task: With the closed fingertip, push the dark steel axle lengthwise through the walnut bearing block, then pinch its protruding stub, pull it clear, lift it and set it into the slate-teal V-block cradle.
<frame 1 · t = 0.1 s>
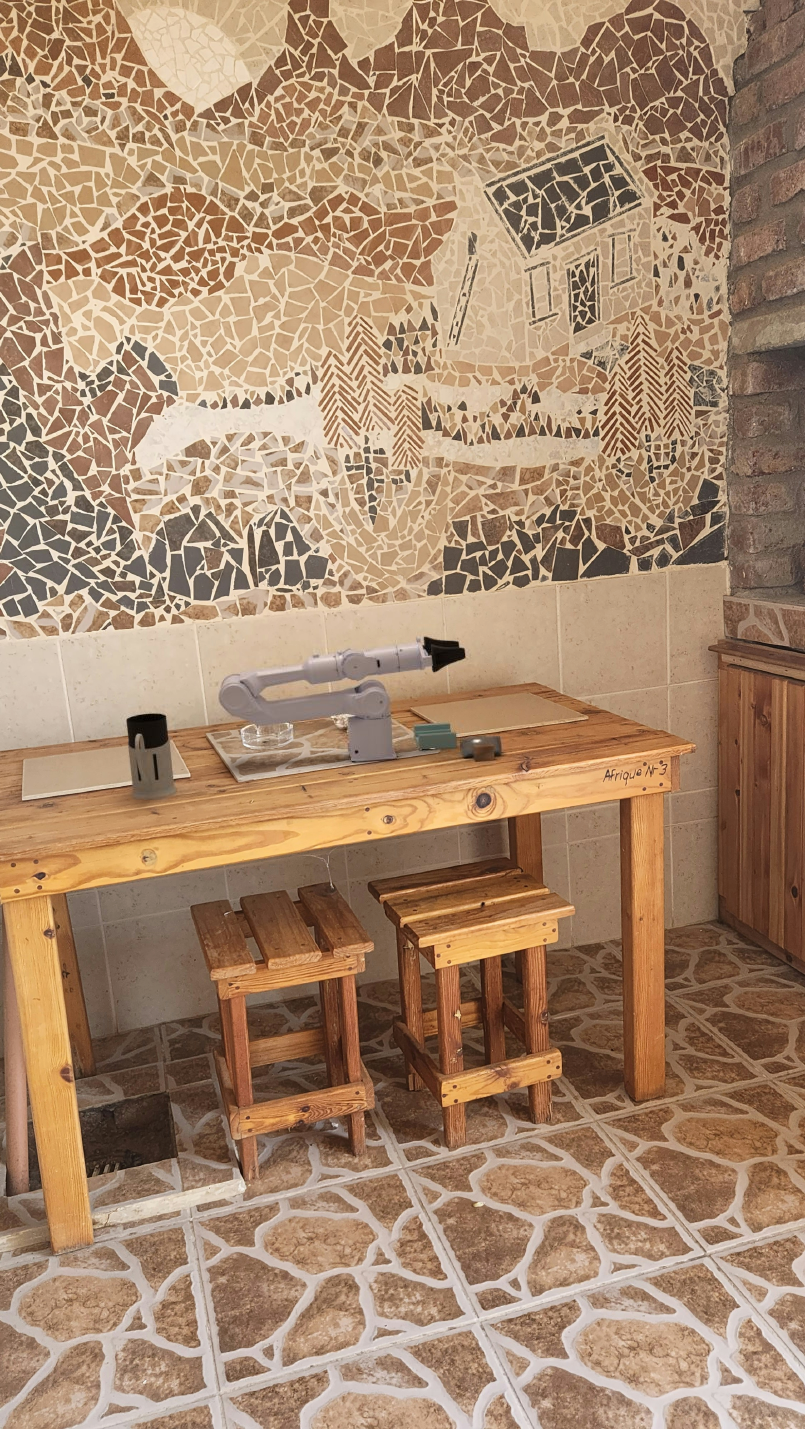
hand: (462, 649, 226), 22 cm above the table, tool horizontal, fingers open, 7 cm apart
glass holder: (151, 797, 208), on the table
axle: (481, 755, 226), on the table
bearing block: (481, 755, 226), on the table
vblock: (435, 743, 237), on the table
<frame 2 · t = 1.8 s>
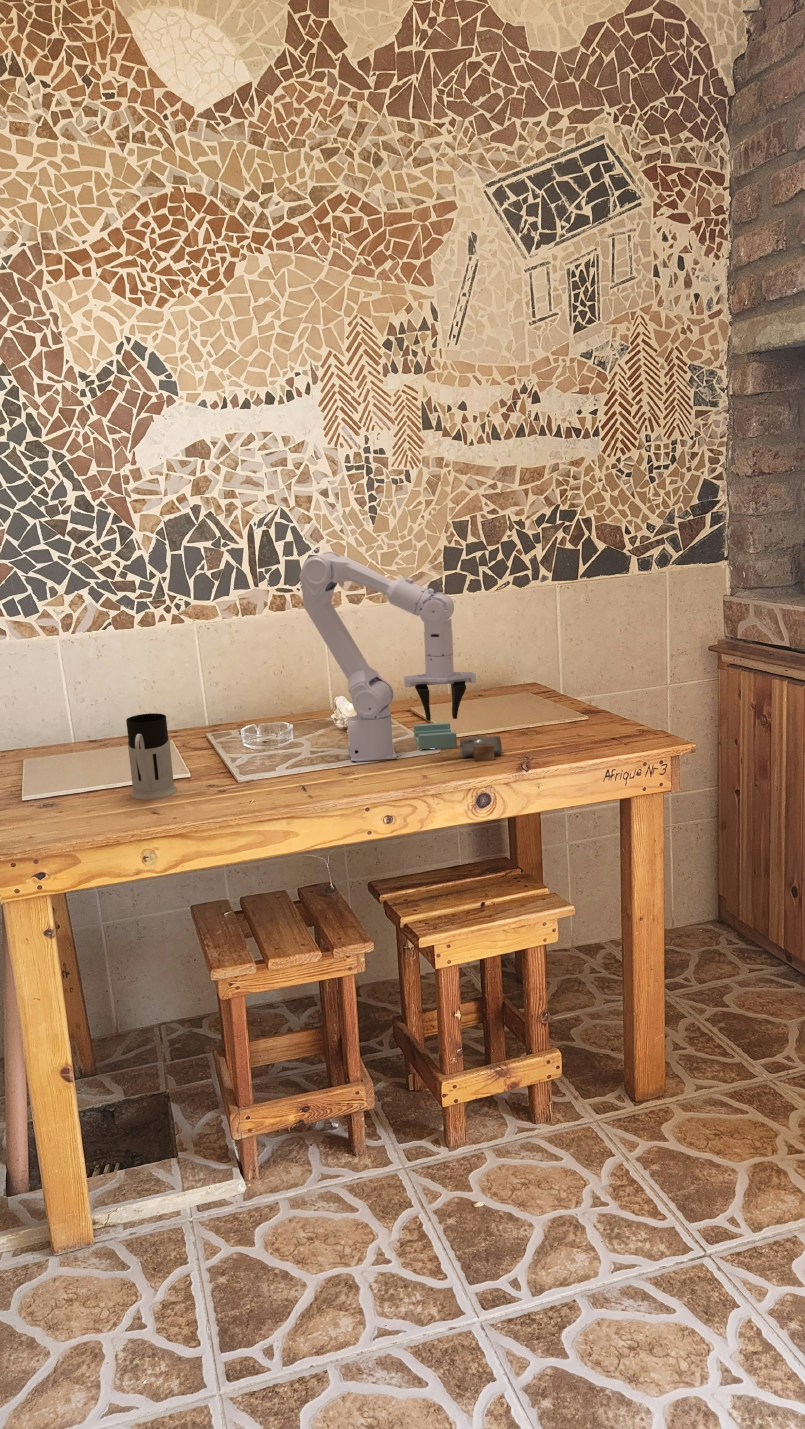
hand: (441, 718, 223), 8 cm above the table, tool pointing down, fingers open, 5 cm apart
nothing on the table moved.
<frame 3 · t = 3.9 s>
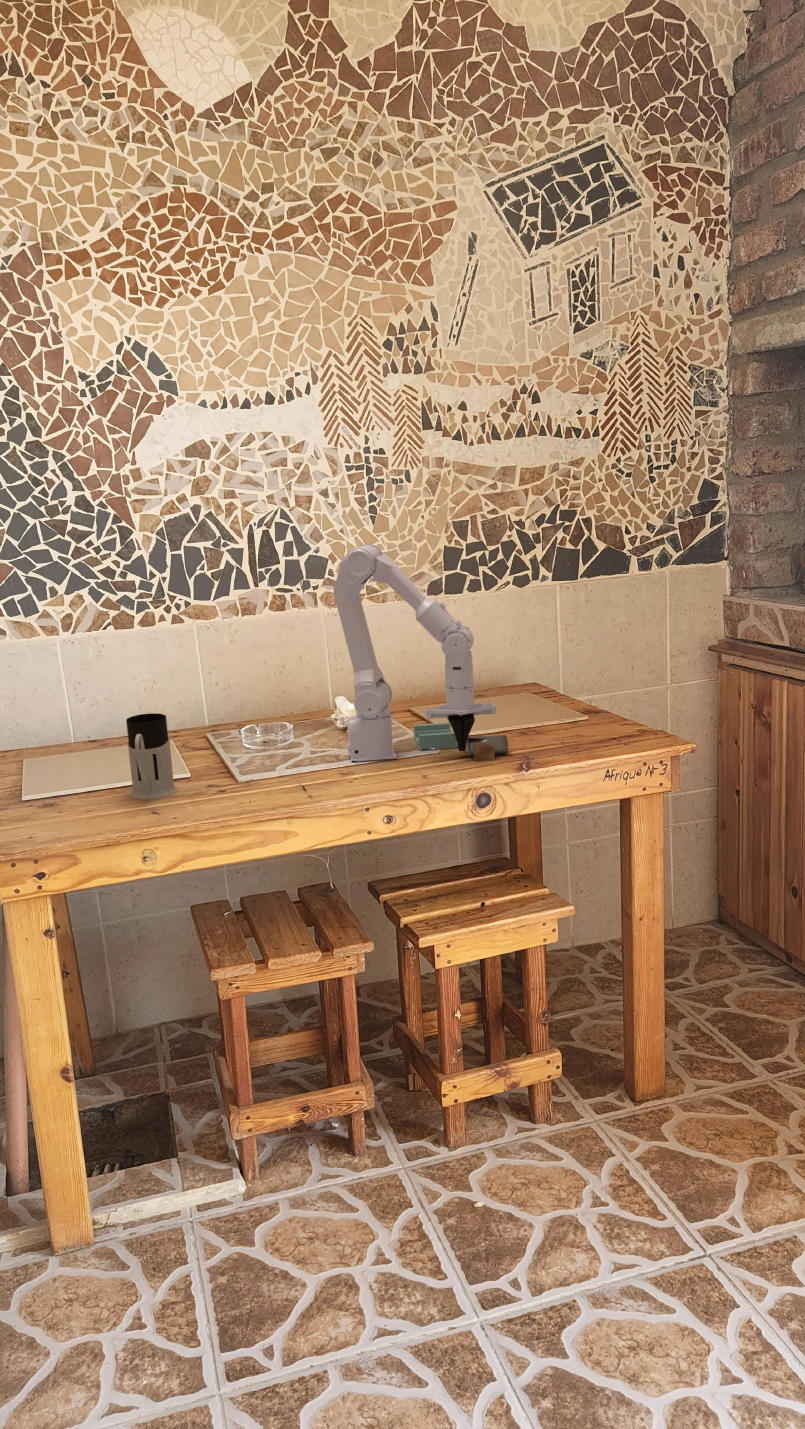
hand: (461, 749, 225), 1 cm above the table, tool pointing down, fingers closed
axle: (487, 754, 226), on the table, tilted 7°, touching gripper
everything else where it was.
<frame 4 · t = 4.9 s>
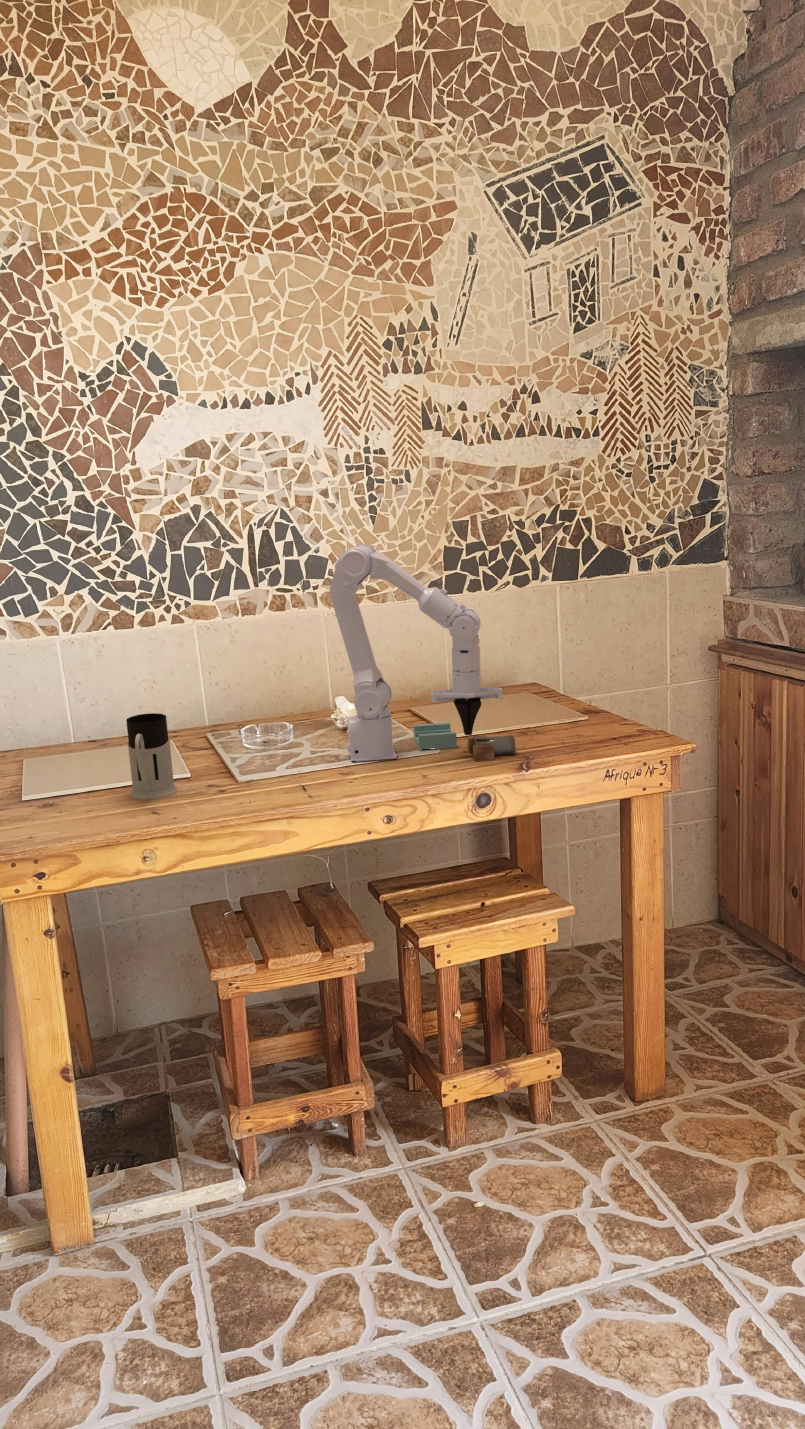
hand: (467, 733, 225), 5 cm above the table, tool pointing down, fingers closed
axle: (494, 754, 226), on the table, tilted 6°
everything else where it was.
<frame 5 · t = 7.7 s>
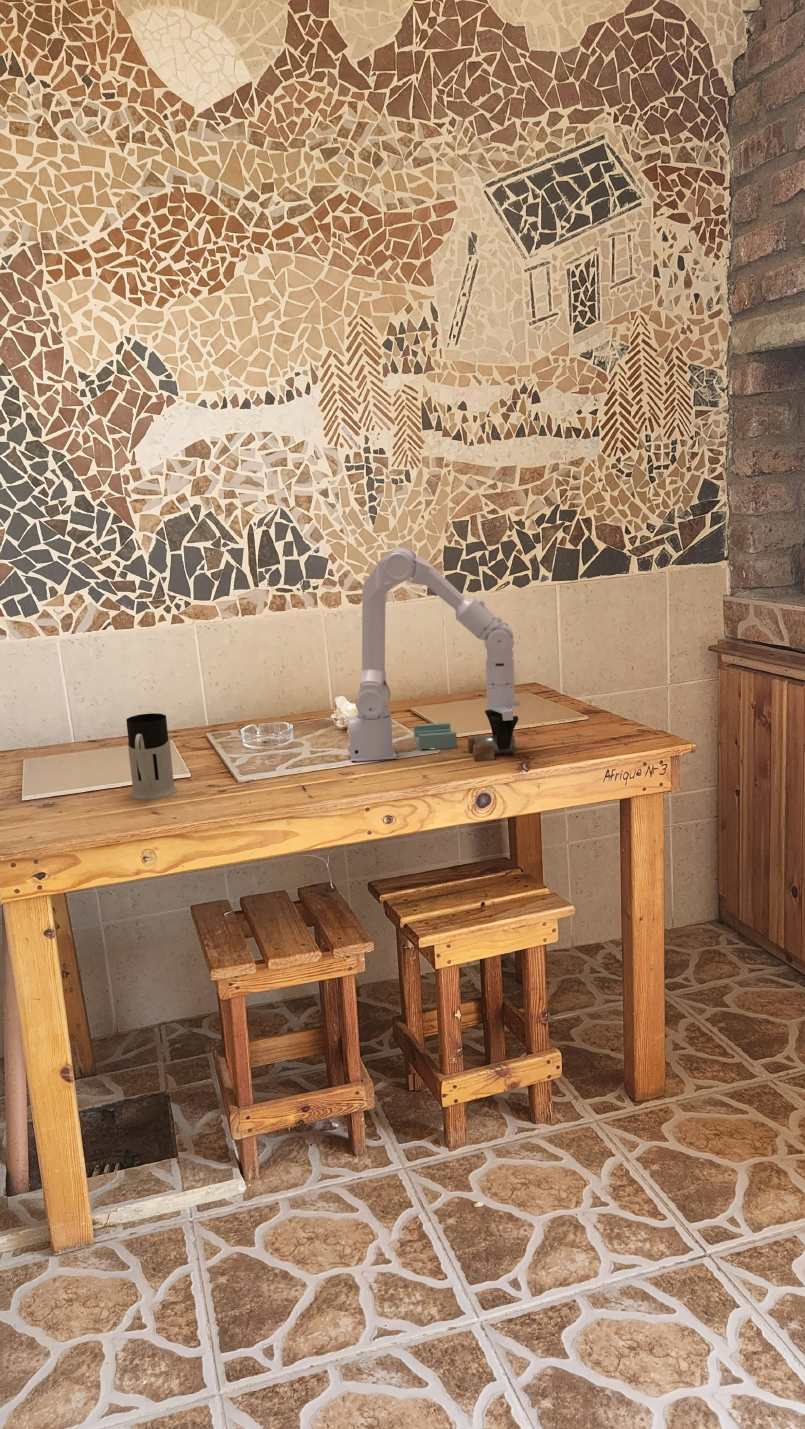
hand: (502, 746, 226), 2 cm above the table, tool pointing down, fingers closed on axle, 4 cm apart
axle: (494, 754, 226), on the table, touching gripper
everything else where it was.
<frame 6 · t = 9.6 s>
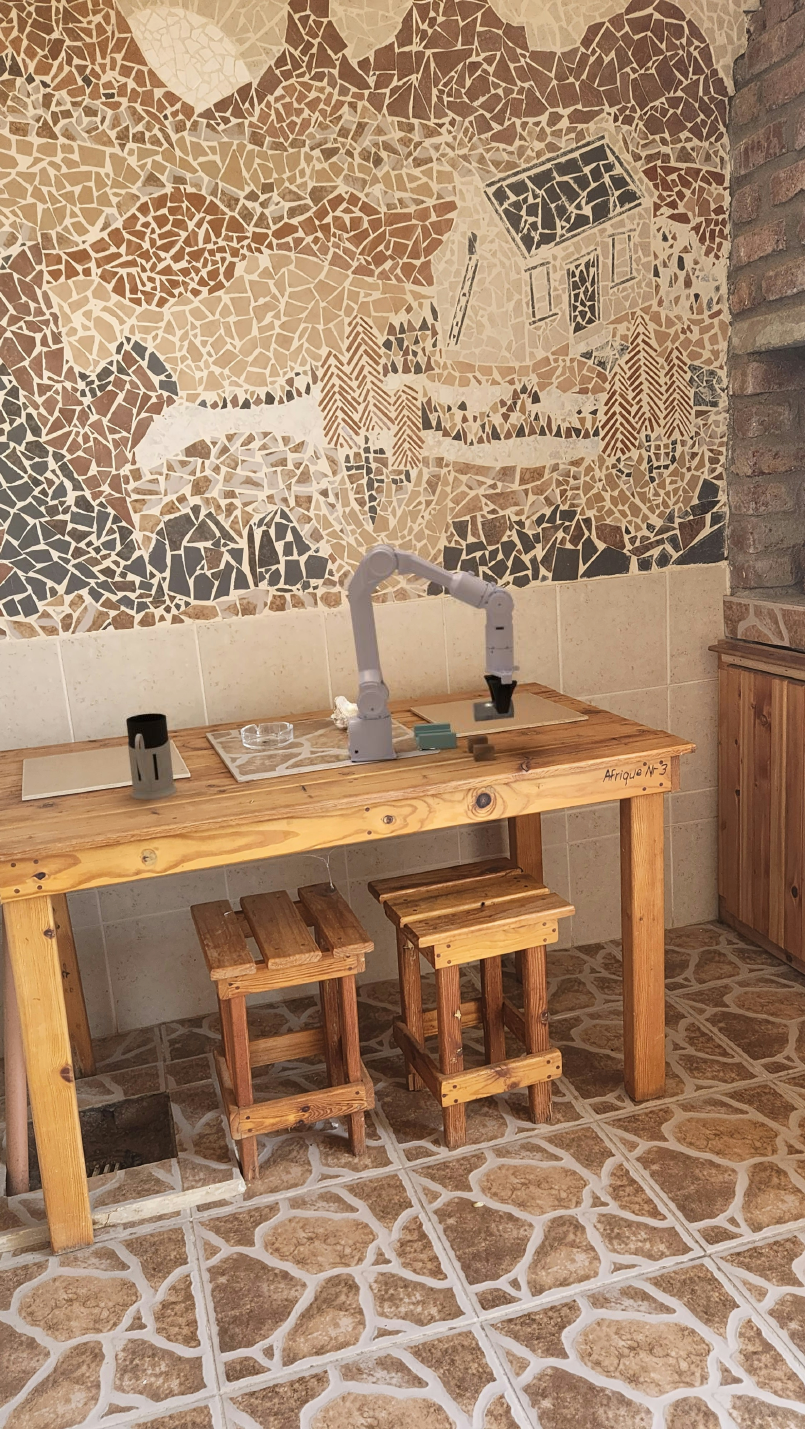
hand: (500, 710, 226), 9 cm above the table, tool pointing down, fingers closed on axle, 4 cm apart
axle: (493, 719, 226), point 7 cm above the table, touching gripper
everything else where it was.
when the fingers open (4 cm above the table, at t = 11.8 s): axle drops 1 cm, resting on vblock.
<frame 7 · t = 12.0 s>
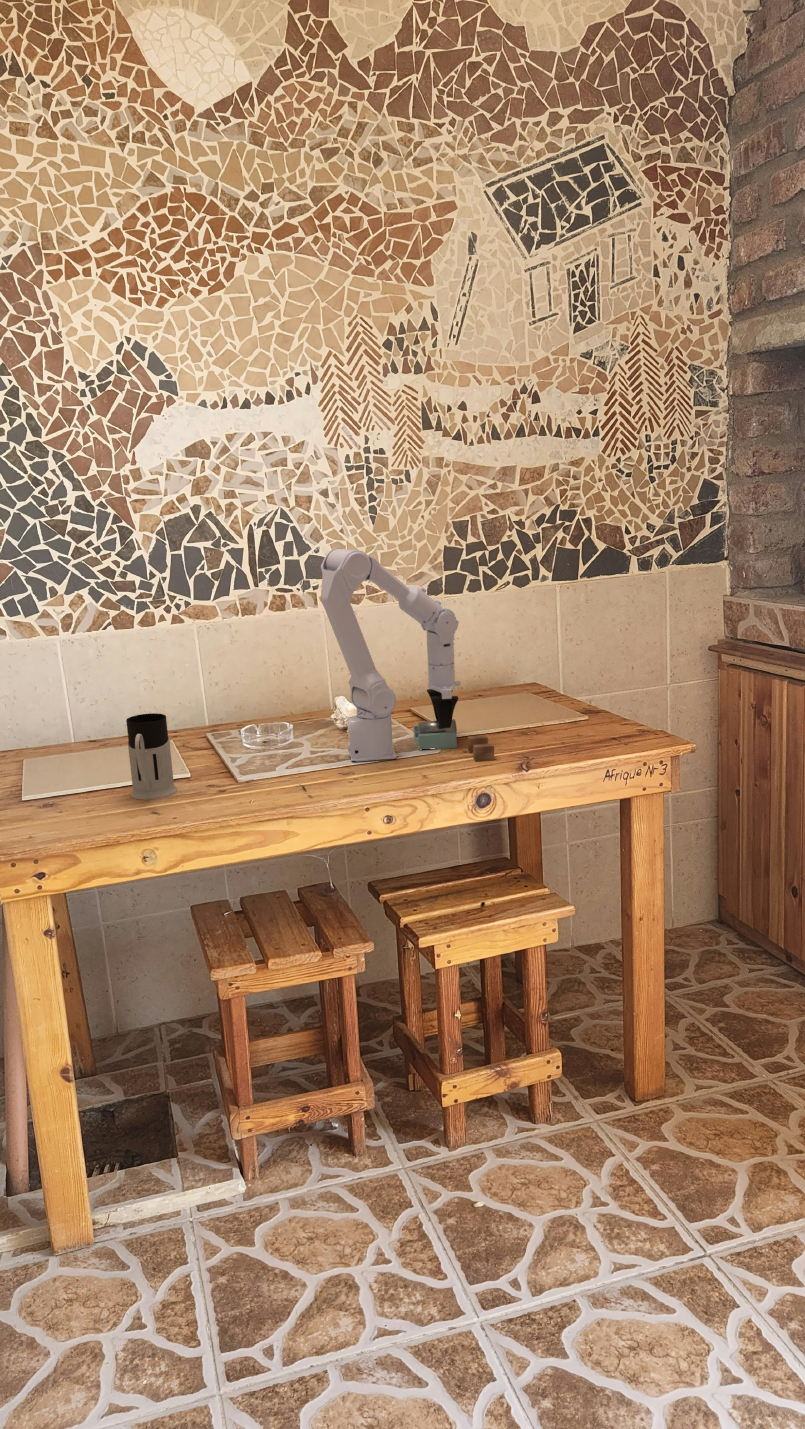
hand: (443, 724, 236), 4 cm above the table, tool pointing down, fingers open, 6 cm apart
axle: (437, 738, 237), point 1 cm above the table, touching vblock
everything else where it was.
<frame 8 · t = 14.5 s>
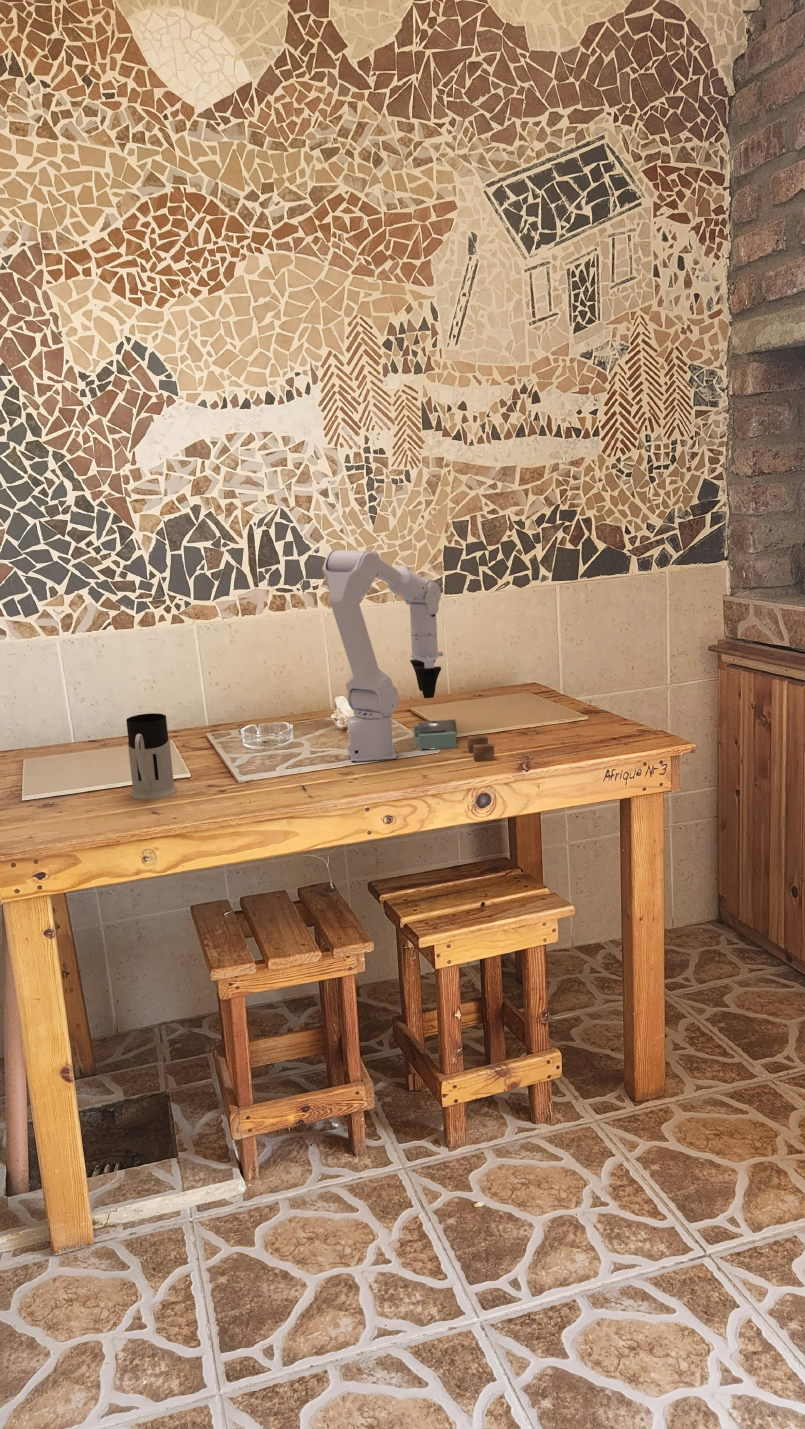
hand: (426, 694, 242), 9 cm above the table, tool pointing down, fingers open, 7 cm apart
nothing on the table moved.
at the end: axle 0.5 cm off-centre on the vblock, point 1.0 cm above the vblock's base; the gripper is holding nothing; axle touching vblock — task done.
